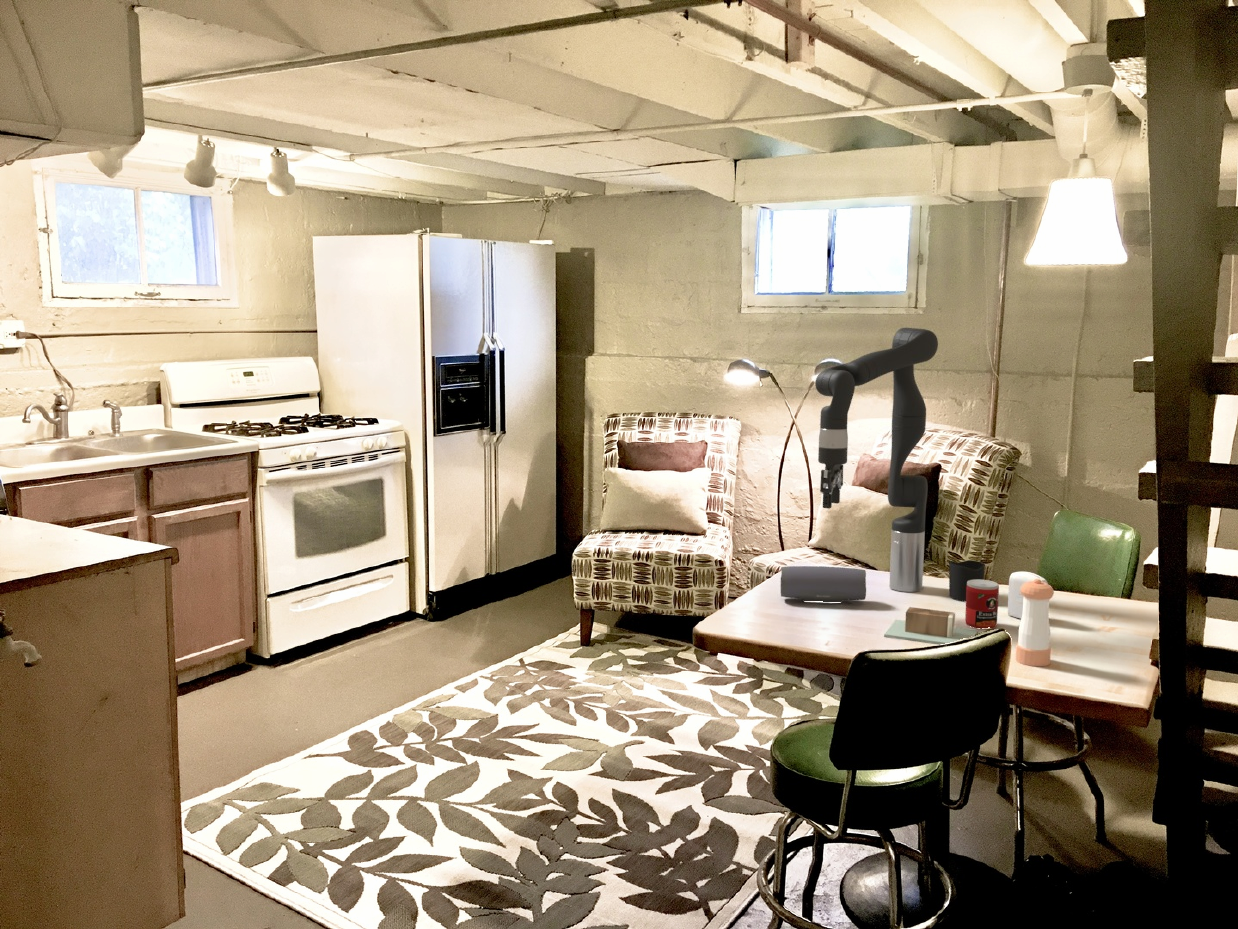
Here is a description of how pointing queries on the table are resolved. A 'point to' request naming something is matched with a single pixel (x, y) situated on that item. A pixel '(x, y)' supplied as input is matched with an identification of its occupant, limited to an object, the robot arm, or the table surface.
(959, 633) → the rubber mat
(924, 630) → the walnut block
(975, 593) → the canned food
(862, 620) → the table surface
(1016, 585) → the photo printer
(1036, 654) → the salt shaker
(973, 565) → the pen holder
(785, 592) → the bluetooth speaker
